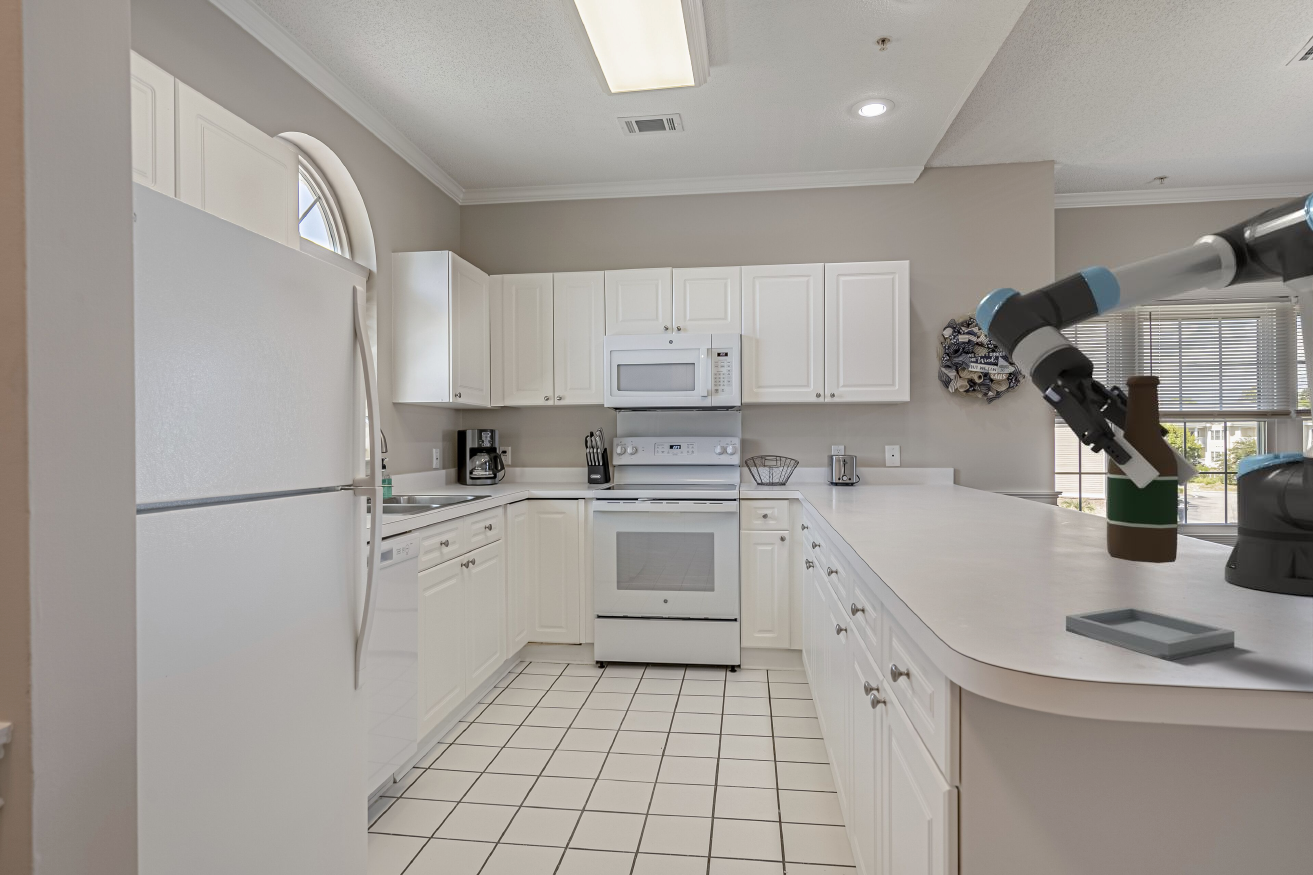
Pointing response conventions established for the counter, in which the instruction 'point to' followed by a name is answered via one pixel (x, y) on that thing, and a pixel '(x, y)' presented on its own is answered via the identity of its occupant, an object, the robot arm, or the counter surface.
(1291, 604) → the counter surface
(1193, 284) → the robot arm
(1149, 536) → the beer bottle
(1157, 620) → the keeper tray
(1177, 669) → the counter surface
